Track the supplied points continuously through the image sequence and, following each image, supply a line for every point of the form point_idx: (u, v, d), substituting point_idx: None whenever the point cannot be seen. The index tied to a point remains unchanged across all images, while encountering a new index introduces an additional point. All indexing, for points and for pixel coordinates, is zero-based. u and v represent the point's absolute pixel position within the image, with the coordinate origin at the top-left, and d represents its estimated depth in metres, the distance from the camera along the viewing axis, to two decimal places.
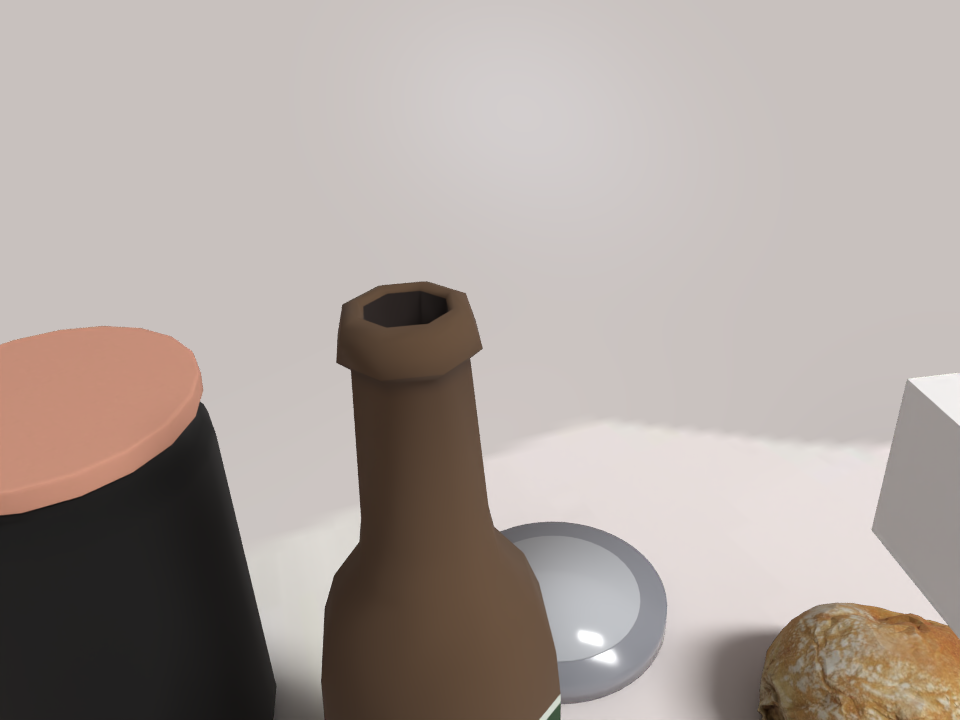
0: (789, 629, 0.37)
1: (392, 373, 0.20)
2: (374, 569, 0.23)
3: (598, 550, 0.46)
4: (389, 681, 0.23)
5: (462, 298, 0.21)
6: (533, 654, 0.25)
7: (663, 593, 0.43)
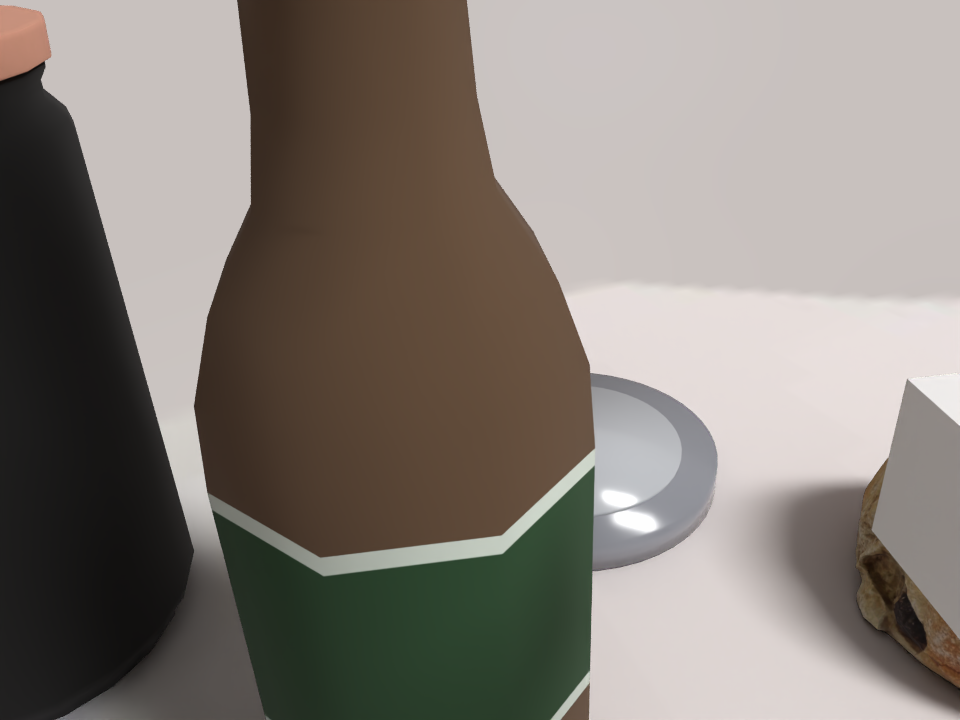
0: None
1: None
2: (272, 174, 0.13)
3: (623, 398, 0.35)
4: (297, 367, 0.13)
5: None
6: (552, 354, 0.15)
7: (711, 441, 0.33)
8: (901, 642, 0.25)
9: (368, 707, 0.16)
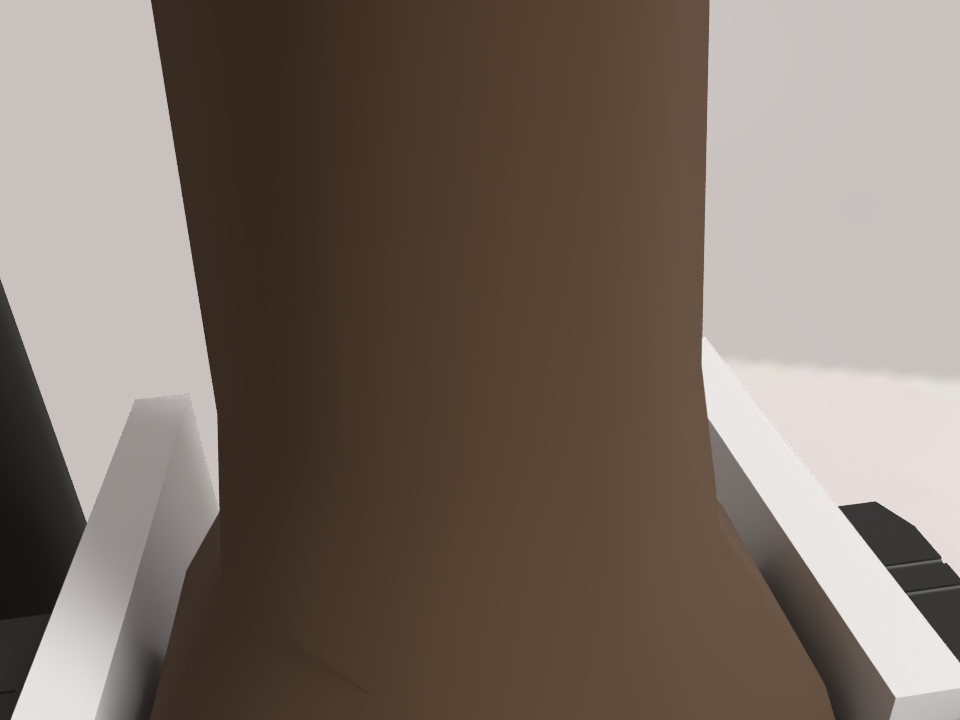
0: None
1: None
2: (265, 543, 0.06)
3: None
4: None
5: None
6: None
7: None
8: None
9: None
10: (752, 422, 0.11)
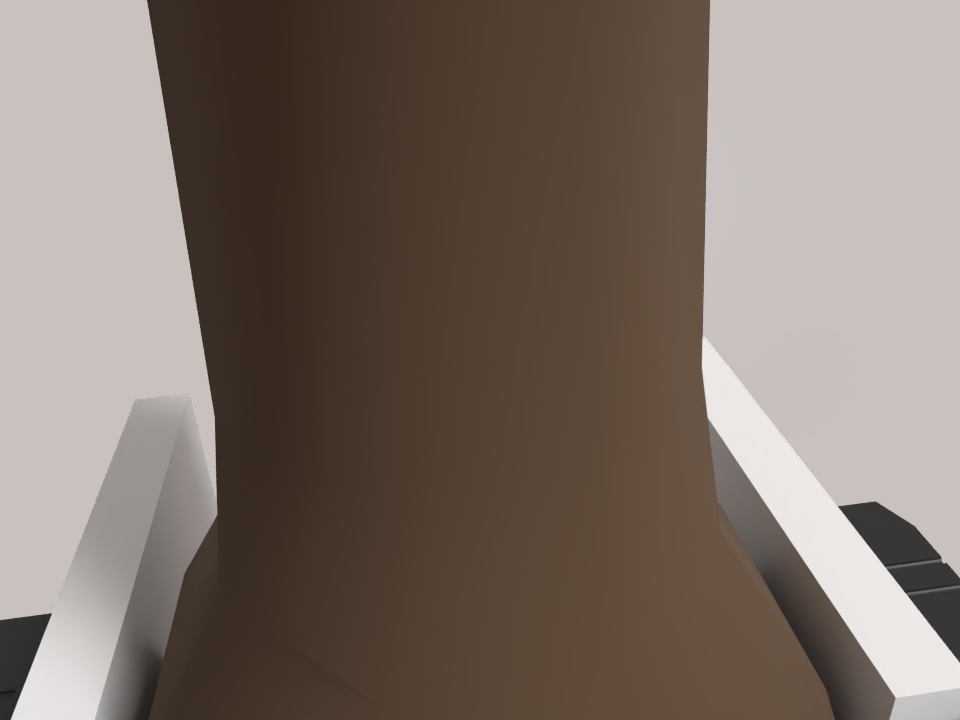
0: None
1: None
2: (263, 547, 0.06)
3: None
4: None
5: None
6: None
7: None
8: None
9: None
10: (752, 422, 0.11)
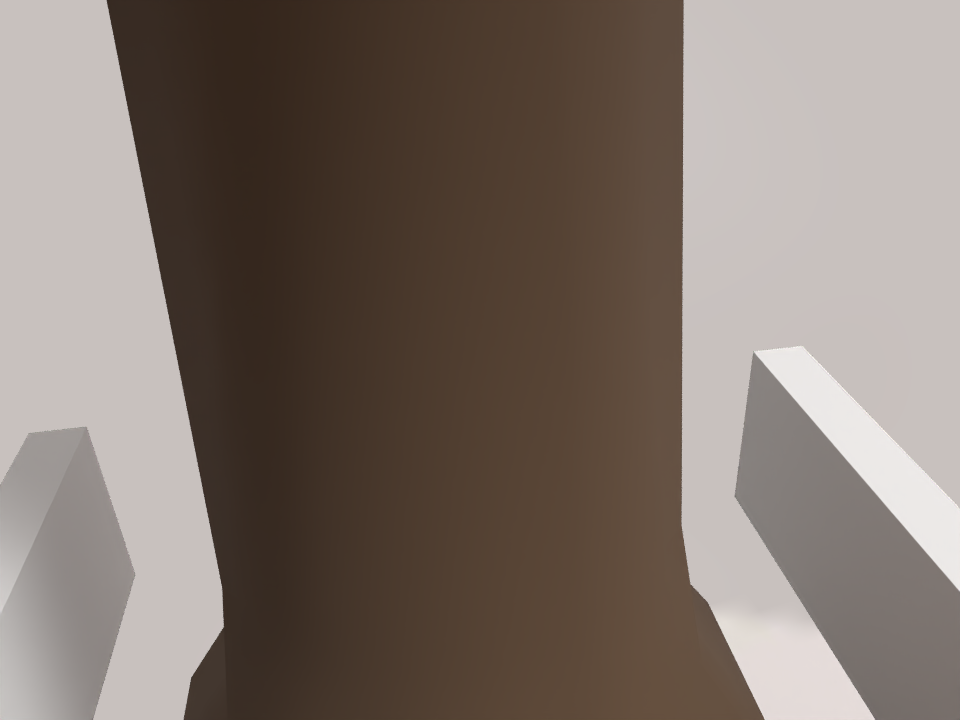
0: None
1: None
2: (270, 707, 0.06)
3: None
4: None
5: None
6: None
7: None
8: None
9: None
10: (869, 436, 0.11)
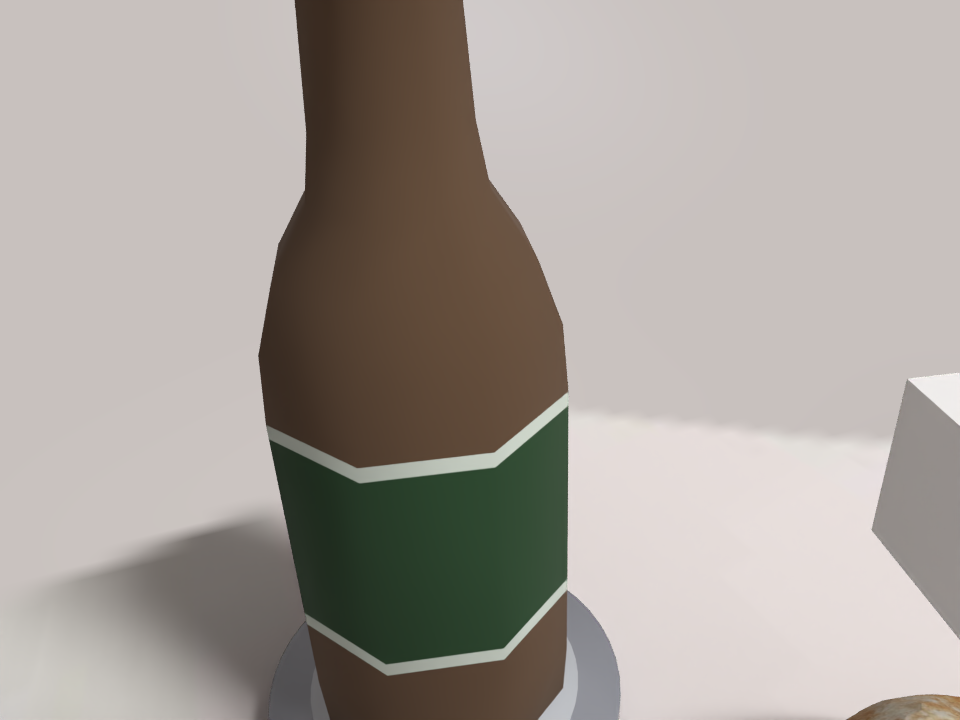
0: None
1: None
2: (322, 178, 0.18)
3: None
4: (342, 321, 0.18)
5: None
6: (533, 314, 0.19)
7: (616, 674, 0.27)
8: None
9: (391, 593, 0.20)
10: None
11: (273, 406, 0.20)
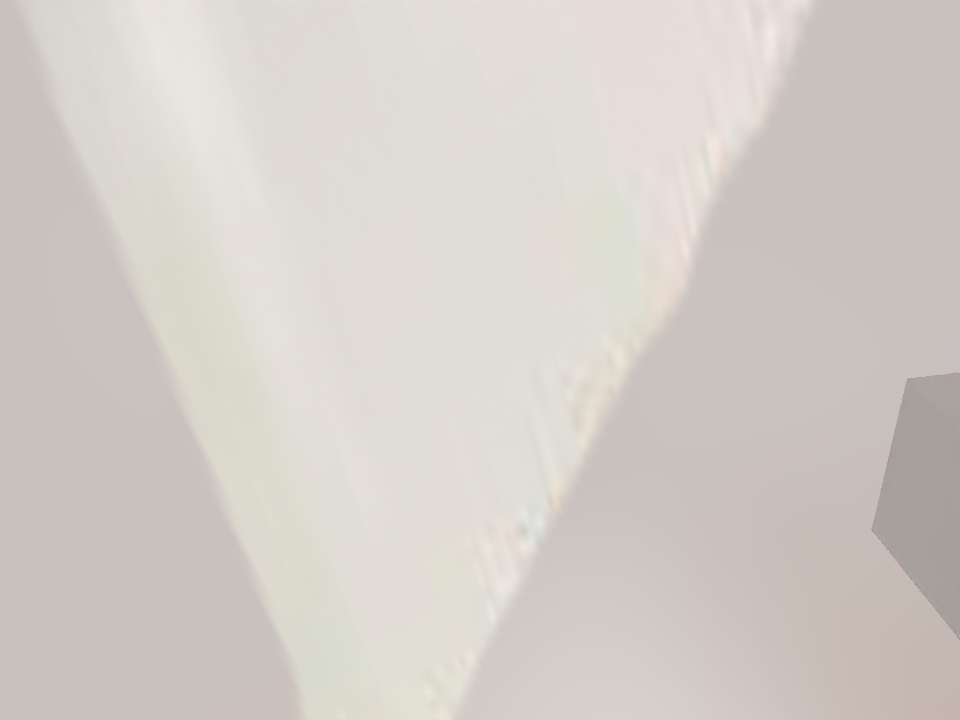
0: None
1: None
2: None
3: None
4: None
5: None
6: None
7: None
8: None
9: None
10: None
11: None
